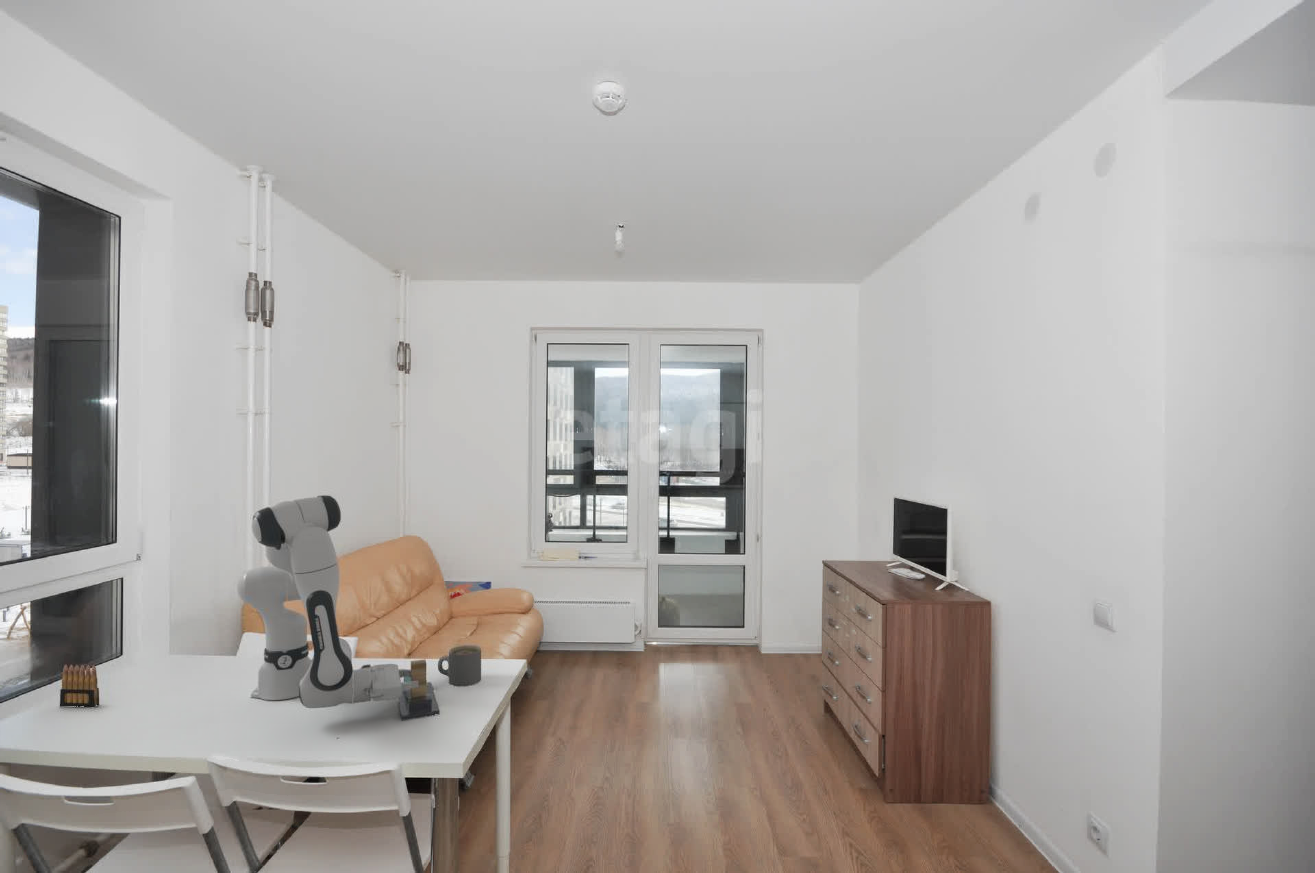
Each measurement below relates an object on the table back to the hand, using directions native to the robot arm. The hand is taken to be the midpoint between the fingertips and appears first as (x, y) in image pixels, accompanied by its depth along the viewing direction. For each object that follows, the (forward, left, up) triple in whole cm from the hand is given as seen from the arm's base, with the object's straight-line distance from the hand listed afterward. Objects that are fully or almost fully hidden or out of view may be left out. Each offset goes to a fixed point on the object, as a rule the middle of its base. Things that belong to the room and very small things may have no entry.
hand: (416, 677), depth 192 cm
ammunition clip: (-42, -90, -9) cm, 99 cm away
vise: (-4, 0, -9) cm, 10 cm away
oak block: (0, 0, -7) cm, 7 cm away
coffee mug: (-17, +14, -9) cm, 24 cm away
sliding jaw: (-11, +1, -7) cm, 13 cm away
